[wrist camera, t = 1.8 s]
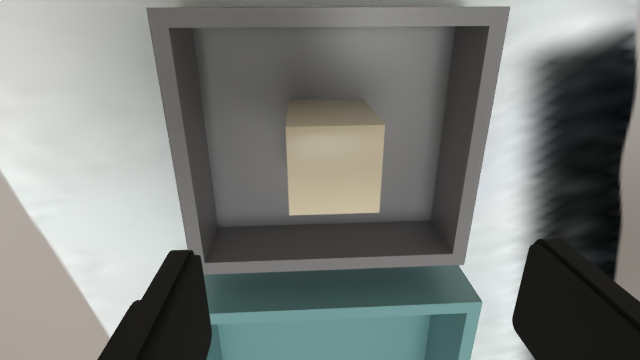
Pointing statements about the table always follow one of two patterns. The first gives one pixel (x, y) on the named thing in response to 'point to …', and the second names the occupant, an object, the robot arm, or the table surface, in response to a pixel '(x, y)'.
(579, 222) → the table surface
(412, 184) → the bin
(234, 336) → the bin
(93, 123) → the table surface
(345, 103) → the stone block
